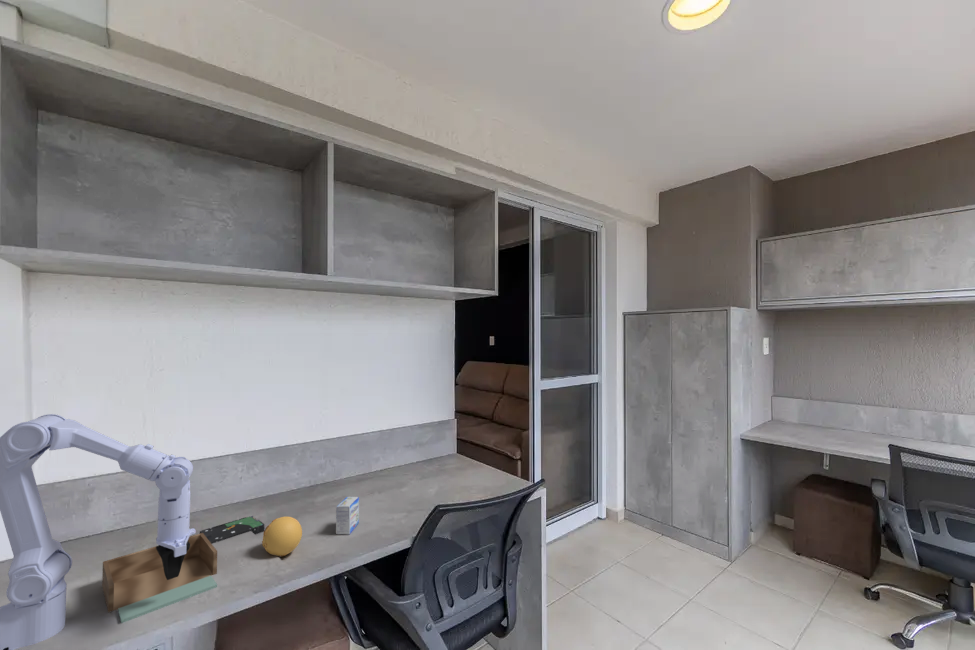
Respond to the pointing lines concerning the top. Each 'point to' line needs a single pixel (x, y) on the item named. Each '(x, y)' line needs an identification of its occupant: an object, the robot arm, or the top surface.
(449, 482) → the top surface
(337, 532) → the medicine box
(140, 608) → the green flat rectangular panel
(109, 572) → the wooden drawer
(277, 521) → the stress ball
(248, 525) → the disk drive
